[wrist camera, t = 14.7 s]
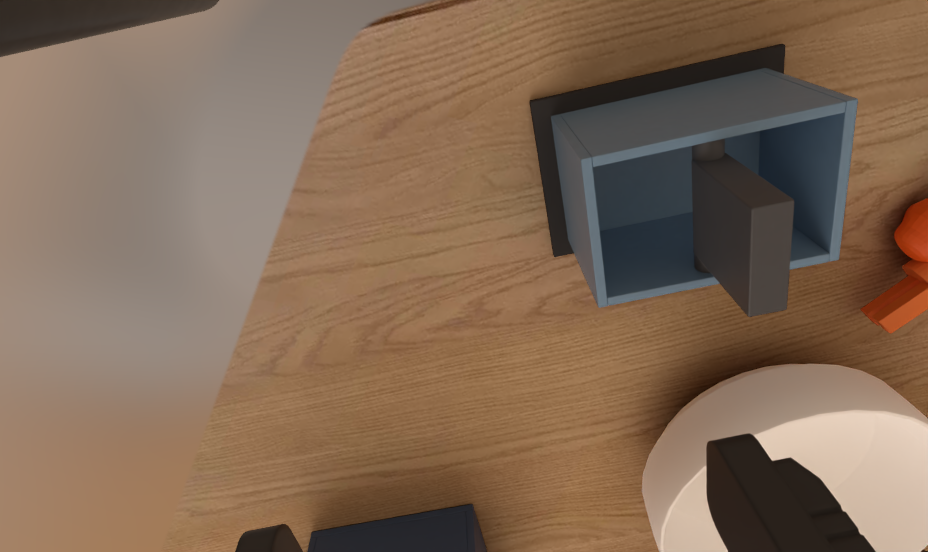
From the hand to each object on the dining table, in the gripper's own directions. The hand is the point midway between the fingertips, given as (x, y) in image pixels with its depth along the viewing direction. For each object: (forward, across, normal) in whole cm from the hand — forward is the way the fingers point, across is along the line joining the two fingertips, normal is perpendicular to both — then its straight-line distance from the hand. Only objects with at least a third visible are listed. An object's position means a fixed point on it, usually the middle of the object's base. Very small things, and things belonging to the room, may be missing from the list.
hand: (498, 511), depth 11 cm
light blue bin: (+25, -12, +4) cm, 28 cm away
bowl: (+25, -18, +28) cm, 42 cm away
